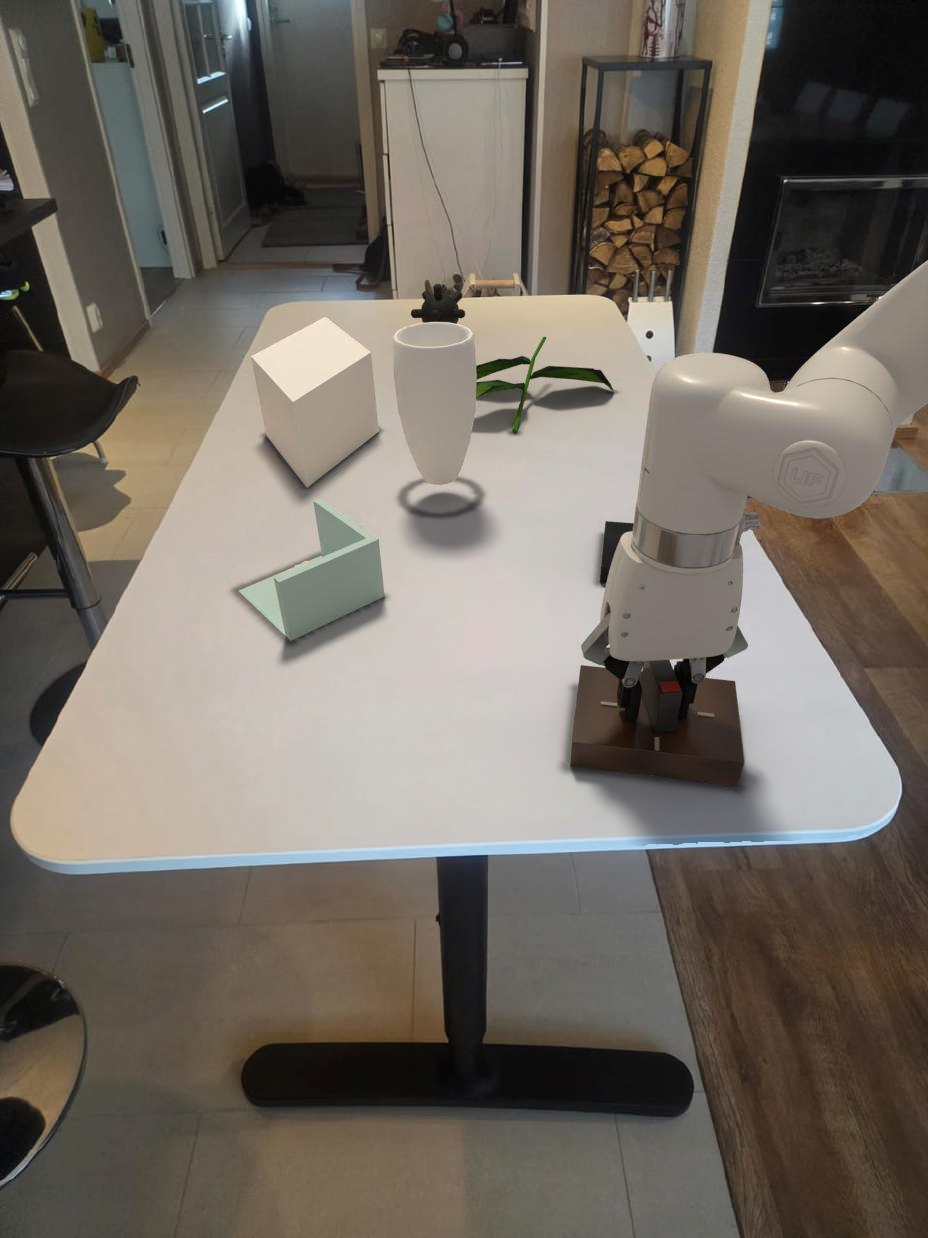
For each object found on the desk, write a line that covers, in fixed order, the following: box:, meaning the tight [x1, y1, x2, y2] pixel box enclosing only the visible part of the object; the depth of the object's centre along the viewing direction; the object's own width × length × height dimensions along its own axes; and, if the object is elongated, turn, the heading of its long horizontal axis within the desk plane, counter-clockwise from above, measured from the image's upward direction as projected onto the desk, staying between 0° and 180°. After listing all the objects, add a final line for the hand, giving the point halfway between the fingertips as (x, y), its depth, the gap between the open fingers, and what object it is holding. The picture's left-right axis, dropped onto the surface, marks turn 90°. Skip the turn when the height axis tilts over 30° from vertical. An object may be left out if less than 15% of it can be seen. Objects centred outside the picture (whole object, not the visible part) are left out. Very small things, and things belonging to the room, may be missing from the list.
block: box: [250, 316, 380, 488], centre depth 120 cm, size 18×35×12 cm, turn 1°
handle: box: [641, 660, 682, 733], centre depth 69 cm, size 6×2×5 cm, turn 3°
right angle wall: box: [238, 497, 386, 642], centre depth 88 cm, size 12×12×8 cm
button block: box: [599, 520, 634, 584], centre depth 92 cm, size 12×10×4 cm
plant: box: [476, 336, 615, 433], centre depth 130 cm, size 19×27×8 cm
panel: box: [569, 664, 745, 787], centre depth 71 cm, size 14×10×3 cm
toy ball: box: [410, 283, 466, 324], centre depth 156 cm, size 11×11×12 cm
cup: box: [391, 322, 477, 486], centre depth 101 cm, size 10×10×22 cm
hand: (653, 707), depth 70 cm, fingers open, 3 cm apart
